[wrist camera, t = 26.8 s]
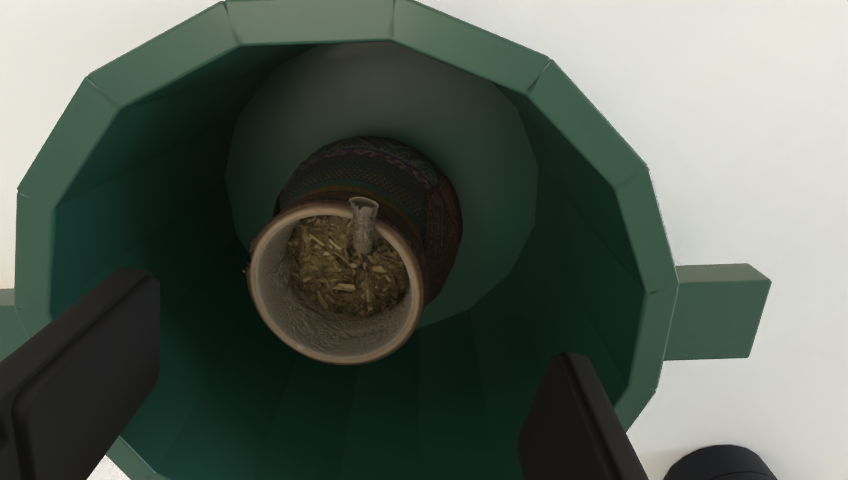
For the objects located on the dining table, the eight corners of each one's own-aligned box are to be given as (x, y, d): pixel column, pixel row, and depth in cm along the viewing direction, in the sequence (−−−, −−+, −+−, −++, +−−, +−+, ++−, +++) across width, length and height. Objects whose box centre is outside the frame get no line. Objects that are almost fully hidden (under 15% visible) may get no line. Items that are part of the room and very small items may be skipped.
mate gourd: (296, 252, 23) (168, 395, 14) (320, 94, 20) (176, 145, 11) (440, 293, 23) (407, 466, 14) (487, 141, 20) (486, 234, 11)
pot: (108, 22, 19) (-274, 17, 9) (633, 2, 19) (901, -27, 8) (198, 342, 25) (42, 564, 15) (590, 329, 25) (711, 544, 15)
